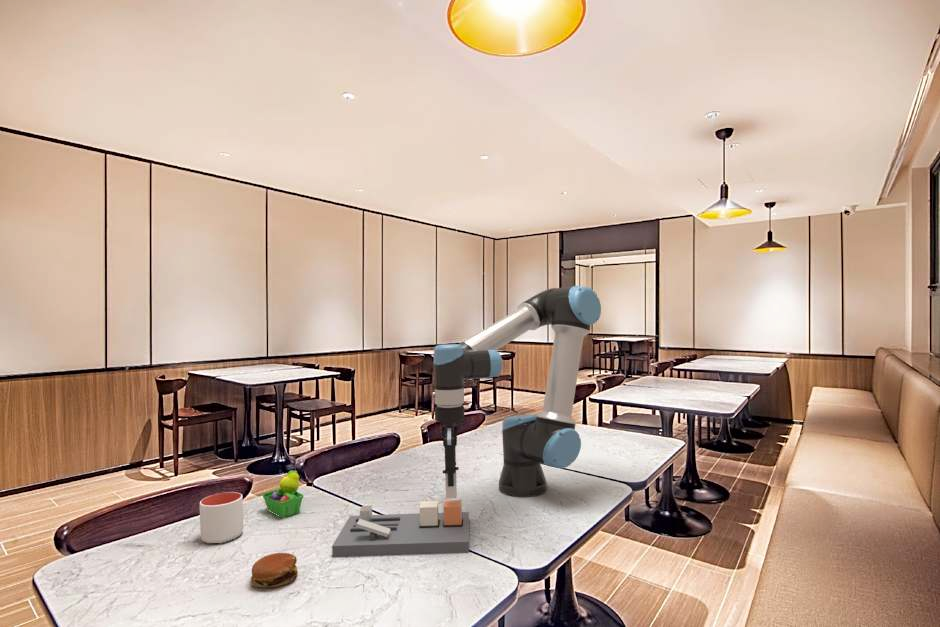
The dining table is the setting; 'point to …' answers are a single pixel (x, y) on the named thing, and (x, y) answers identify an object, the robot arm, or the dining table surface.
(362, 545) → the console
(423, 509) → the button
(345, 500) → the dining table surface
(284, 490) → the fruit basket
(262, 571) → the burger
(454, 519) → the button
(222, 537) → the cup
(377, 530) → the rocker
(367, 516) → the slider knob
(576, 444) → the robot arm
